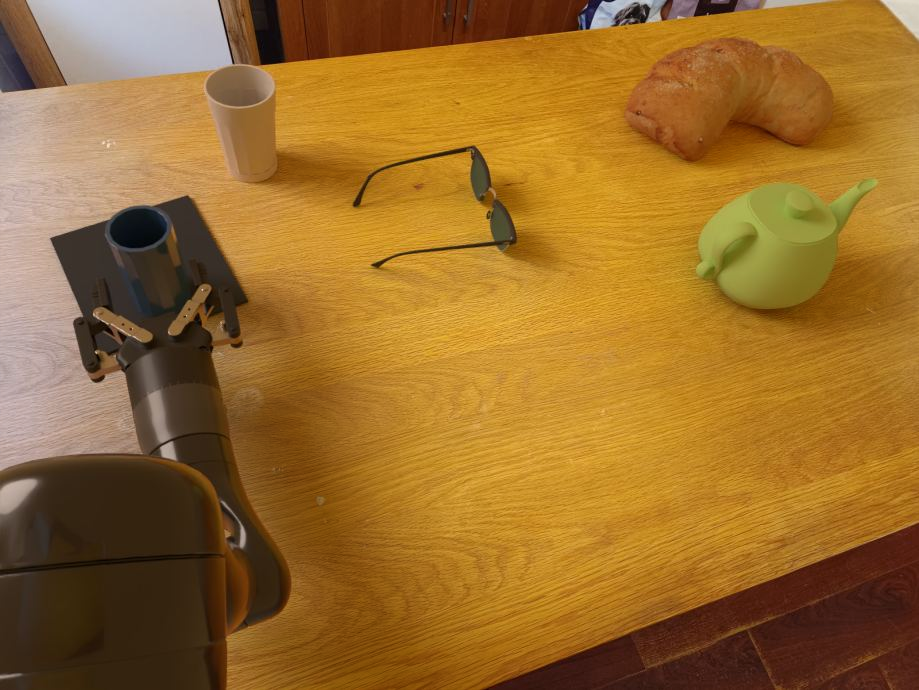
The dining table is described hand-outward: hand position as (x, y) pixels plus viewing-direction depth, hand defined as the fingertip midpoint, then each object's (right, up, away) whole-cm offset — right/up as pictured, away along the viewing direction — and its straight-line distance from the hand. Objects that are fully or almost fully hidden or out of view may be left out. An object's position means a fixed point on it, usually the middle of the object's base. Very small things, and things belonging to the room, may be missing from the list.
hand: (148, 273), depth 73 cm
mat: (-4, +1, +10) cm, 11 cm away
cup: (+4, +16, +22) cm, 27 cm away
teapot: (+69, +2, +21) cm, 72 cm away
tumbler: (-2, -2, +8) cm, 9 cm away
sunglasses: (+27, +8, +19) cm, 34 cm away
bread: (+69, +28, +39) cm, 84 cm away
